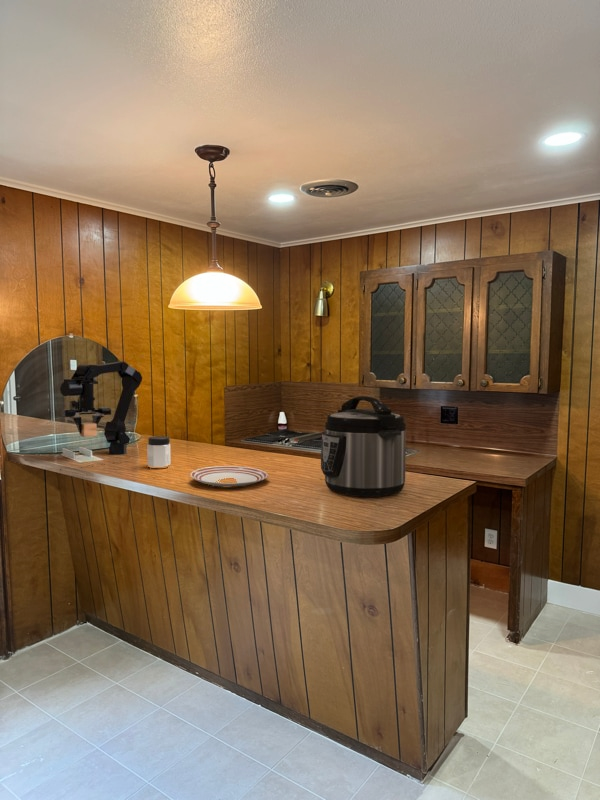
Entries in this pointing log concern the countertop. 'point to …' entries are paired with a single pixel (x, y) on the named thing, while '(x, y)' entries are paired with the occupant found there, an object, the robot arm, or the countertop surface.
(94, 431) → the block
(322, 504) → the countertop surface
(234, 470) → the dinner plate
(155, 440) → the jar
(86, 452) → the channel
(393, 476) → the pressure cooker
